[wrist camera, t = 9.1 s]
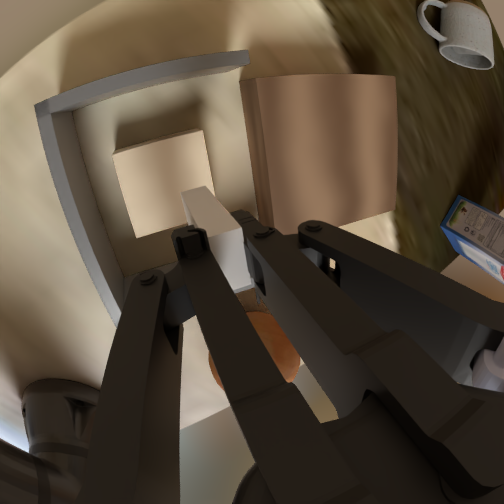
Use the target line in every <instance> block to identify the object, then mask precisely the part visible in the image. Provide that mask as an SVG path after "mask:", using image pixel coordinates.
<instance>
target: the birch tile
mask: <svg viewBox="0 0 504 504" xmlns="http://www.w3.org/2000/svg"><path fill="white" fill-rule="evenodd" d="M112 157H113V161H114V165H115V169H116V173H117V176H118V180H119V183H120V187H121V190H122V194H123V197H124V200H125V204H126V207H127V210H128V213H129V217H130V220H131V223H132V226H133V229H134V232H135V235H136V238H139V237H142V236H146V235H149V234H152V233H155V232H159V231H162V230H165V229H169V228H172V227H176V226H179V225H182V224H186V223H188V222H187V218H186V214H185V210H184V206H183V202H182V197H181V193H180V192H183V191H187V190H190V189H194V188H198V187H202V186H206V187H207V188H208V189H209V190H210V191H211V193H212V194H213V195H214V196H215V192H214V187H213V182H212V177H211V172H210V166H209V161H208V156H207V150H206V145H205V140H204V134H203V130H200V129H198V128H196V129H191V130H187V131H183V132H179V133H175V134H171V135H167V136H163V137H159V138H155V139H152V140H148V141H145V142H141V143H138V144H134V145H131V146H128V147H124V148H121V149H118V150H115V151H114V153H113V154H112Z"/></svg>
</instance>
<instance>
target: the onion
mask: <svg viewBox="0 0 504 504" xmlns="http://www.w3.org/2000/svg"><path fill="white" fill-rule="evenodd" d="M246 314H247V316H248V318H249V319H250V321H251V323H252V325H253V326H254V328H255V330H256V331H257V333H258V335H259V337H260V338H261V340H262V342H263V343H264V345H265V347H266V349H267V350H268V352H269V354H270V355H271V357H272V359H273V360H274V362H275V364H276V366H277V367H278V369H279V371H280V372H281V374H282V376H283V377H284V379H285V380H286V381H287V382H288V383H289V382H292V381H293V379H294V378H295V375H296V374H297V372H298V369H299V366H300V355H299V354H298V353H297V351H296V350H295V348H294V347H293V345H292V344H291V342H290V341H289V339H288V338H287V336H286V335H285V333H284V332H283V330H282V329H281V327H280V326H279V324H278V323H277V321H276V320H275V318H274V317H273V315H270V314H267V313H263V312H257V311H255V312H246ZM209 365H210V368H211V371H212V374H213V376H214V378H215V380H216V382H217V384H218V385H219V386H220V387H221V388H222V389H223V386H222V384H221V381H220V379H219V376H218V374H217V371H216V368H215V366H214V363H213V361H212V358H211V355H210V353H209ZM223 390H224V389H223Z"/></svg>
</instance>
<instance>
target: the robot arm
mask: <svg viewBox="0 0 504 504" xmlns="http://www.w3.org/2000/svg"><path fill="white" fill-rule="evenodd" d="M180 193H181V197H182V202H183V206H184V210H185V214H186V218H187V222H188V226H186V227H182V228H179V229H176V230H174V231H173V233H172V235H171V237H172V241H173V244H174V247H175V251H176V254H177V258H178V263H177V265H176V266H175V268H173V269H172V270H171V271H169V272H168V273H166V274H164V273H163V272H162V271H161V270H158V269H152V270H147V271H143V272H141V273H140V274H138V275H137V276H136V277H135V278H134V279H133V281H132V282H131V285H130V288H129V291H128V294H127V297H126V300H125V303H124V306H123V309H122V313H121V316H120V319H119V322H118V326H117V329H116V333H115V336H114V339H113V343H112V347H111V350H110V354H109V358H108V361H107V365H106V369H105V373H104V377H103V381H102V385H101V390H100V391H98V390H96V389H94V388H92V387H89V386H86V385H84V384H81V383H77V382H73V381H68V380H61V379H46V380H40V381H36V382H34V383H32V384H30V385H29V386H28V387H27V388H26V389H25V391H24V394H23V399H22V415H23V418H24V424H25V429H26V434H27V438H28V442H29V453H28V452H25V451H23V450H21V449H19V448H17V447H15V446H14V445H12V444H10V443H8V442H6V441H4V440H2V439H1V438H0V504H180V468H179V431H180V389H181V365H182V347H183V331H184V328H183V324H182V323H183V322H185V321H187V320H188V319H190V318H192V317H193V316H195V315H196V316H197V319H198V322H199V325H200V328H201V331H202V333H203V336H204V339H205V342H206V344H207V347H208V350H209V353H210V355H211V358H212V361H213V363H214V366H215V368H216V371H217V374H218V376H219V379H220V381H221V384H222V386H223V389H224V391H225V394H226V396H227V399H228V401H229V403H230V406H231V408H232V411H233V413H234V415H235V417H236V420H237V422H238V425H239V427H240V429H241V431H242V434H243V436H244V438H245V440H246V443H247V445H248V447H249V450H250V452H251V454H252V456H253V458H254V461H255V463H254V465H253V466H252V467H251V468H250V469H249V470H248V471H247V473H246V474H245V476H244V477H243V479H242V480H241V482H240V484H239V486H238V489H237V491H236V494H235V497H234V500H233V502H232V504H504V303H501V302H497V301H494V300H491V299H489V298H487V297H485V296H483V295H481V294H479V293H478V292H476V291H474V290H472V289H470V288H468V287H466V286H464V285H462V284H460V283H458V282H456V281H454V280H452V279H450V278H448V277H446V276H444V275H442V274H440V273H438V272H436V271H434V270H432V269H429V268H427V267H425V266H423V265H421V264H419V263H417V262H415V261H413V260H410V259H408V258H406V257H404V256H402V255H400V254H397V253H395V252H393V251H391V250H389V249H386V248H384V247H382V246H380V245H377V244H375V243H373V242H371V241H368V240H366V239H364V238H361V237H359V236H357V235H355V234H352V233H350V232H347V231H345V230H343V229H340V228H338V227H336V226H333V225H331V224H328V223H326V222H323V221H319V220H308V221H306V222H303V223H301V224H300V225H299V226H298V233H297V234H289V235H283V234H282V233H281V232H280V231H278V230H277V229H276V228H274V227H269V226H263V225H262V224H261V223H260V222H259V221H258V220H256V218H254V217H253V216H252V215H251V214H250V213H249V212H247V211H244V210H239V211H235V212H232V213H229V212H228V211H227V210H226V209H225V208H224V206H223V205H222V204H221V203H220V202H219V201H218V200H217V198H216V197H215V196H214V195H213V194H212V193H211V191H210V190H209V189H208V188H207V187H206V186H202V187H198V188H194V189H190V190H187V191H183V192H180ZM330 258H331V259H333V260H335V269H333V268H331V267H330ZM250 275H251V276H252V278H253V279H254V285H255V291H256V297H257V302H258V304H260V298H261V299H262V300H263V302H264V303H265V305H266V306H267V308H268V309H269V311H270V312H271V314H272V315H273V317H274V318H275V320H276V321H277V323H278V324H279V326H280V327H281V329H282V330H283V332H284V333H285V335H286V336H287V338H288V339H289V341H290V342H291V344H292V345H293V347H294V348H295V350H296V351H297V353H298V354H299V355H300V357H301V358H302V360H303V361H304V363H305V364H306V366H307V367H308V369H309V370H310V372H311V373H312V374H313V376H314V377H315V379H316V380H317V382H318V383H319V385H320V386H321V387H322V389H323V391H324V392H325V393H326V395H327V396H328V398H329V399H330V401H331V402H332V403H333V405H334V407H335V408H336V411H337V413H338V417H339V419H337V420H333V421H329V422H325V423H320V422H319V421H318V419H317V418H316V416H315V415H314V413H313V411H312V410H311V408H310V407H309V405H308V404H307V402H306V400H305V399H304V397H303V396H302V394H301V393H300V391H299V390H298V388H297V387H296V385H295V384H293V383H292V382H289V383H288V382H287V381H286V380H285V379H284V377H283V376H282V374H281V372H280V371H279V369H278V367H277V366H276V364H275V362H274V360H273V359H272V357H271V355H270V354H269V352H268V350H267V349H266V347H265V345H264V343H263V342H262V340H261V338H260V337H259V335H258V333H257V331H256V330H255V328H254V326H253V325H252V323H251V321H250V319H249V318H248V316H247V314H246V312H245V311H244V309H243V307H242V305H241V304H240V302H239V300H238V298H237V297H236V295H235V293H234V291H233V290H236V289H239V288H242V287H245V286H248V285H251V279H250ZM457 382H458V383H460V384H458V383H457Z"/></svg>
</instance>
